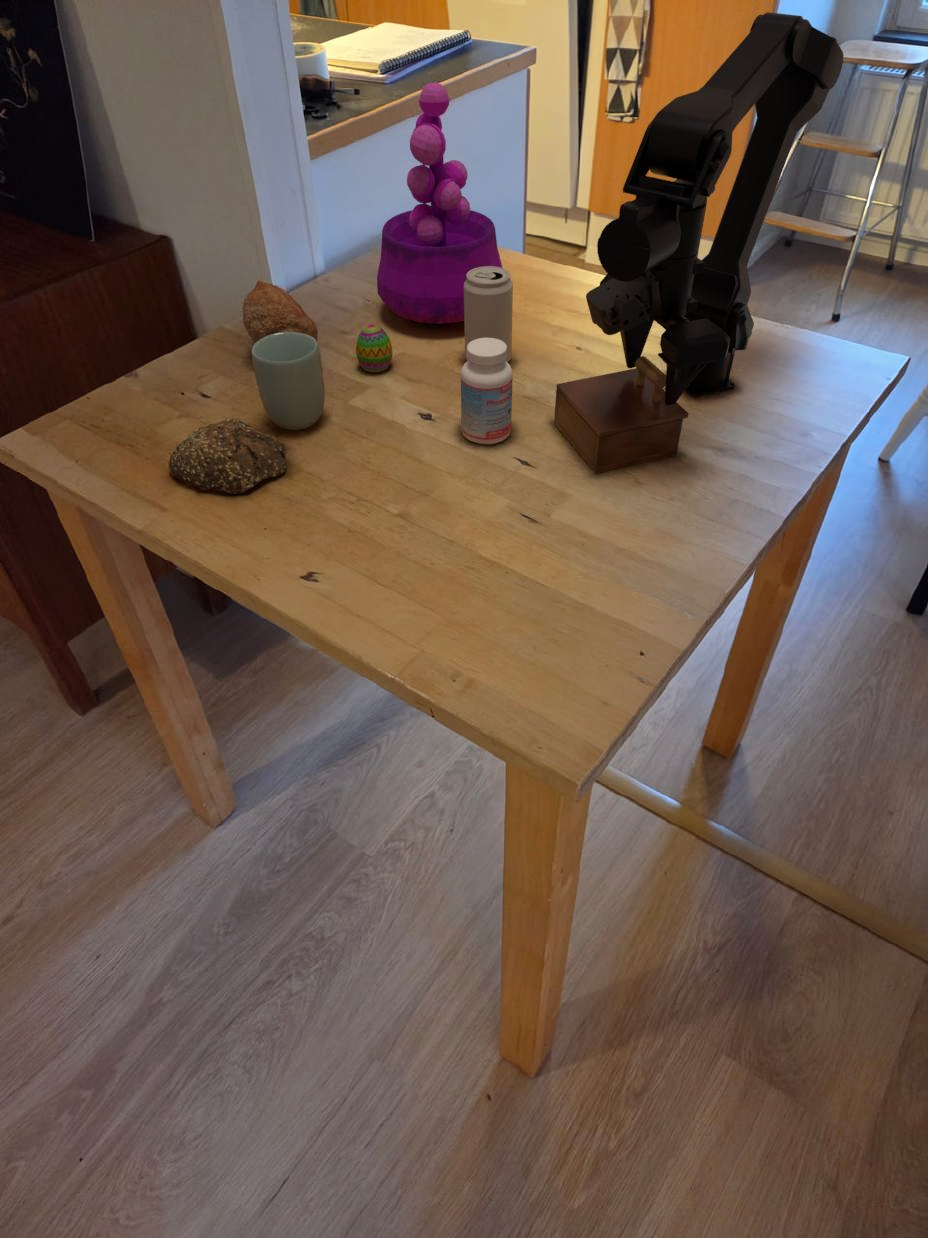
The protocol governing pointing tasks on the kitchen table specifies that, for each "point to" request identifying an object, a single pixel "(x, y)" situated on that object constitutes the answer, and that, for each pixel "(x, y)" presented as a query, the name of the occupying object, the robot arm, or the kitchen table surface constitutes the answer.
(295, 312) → the crusty roll
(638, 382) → the lid
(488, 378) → the pill bottle
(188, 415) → the kitchen table surface
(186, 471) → the bread roll
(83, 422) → the kitchen table surface
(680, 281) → the robot arm
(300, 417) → the cup
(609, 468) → the chest
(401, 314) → the decorative plant
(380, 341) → the egg
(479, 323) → the beverage can
